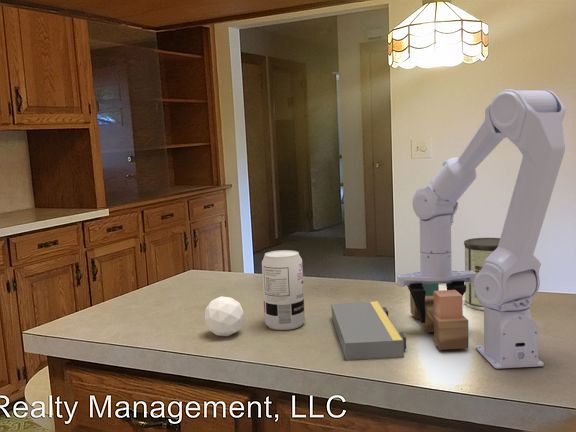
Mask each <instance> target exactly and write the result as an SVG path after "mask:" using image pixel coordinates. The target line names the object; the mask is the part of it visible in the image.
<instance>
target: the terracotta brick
mask: <svg viewBox="0 0 576 432" xmlns="http://www.w3.org/2000/svg"><path fill="white" fill-rule="evenodd" d="M433 293H434V313H435V314H436V315H437V316H438V317H439V318H440V319H450V318H463V316H464V315H463V314H464V313H463V312H464V311H463V307H464V306H463V304H464V303H463V301H464V300H463V296H464V295H463V296H462V295H461V294H460V293H459V292H457V291H456V290H447V289H446V290H445V289H444V290H439V291H433Z"/></svg>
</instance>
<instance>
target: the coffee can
mask: <svg viewBox="0 0 576 432" xmlns="http://www.w3.org/2000/svg"><path fill="white" fill-rule="evenodd" d="M500 238H501V237H475V238H468V239H465V240H464V242H463V245H464V271H473V272H475V273H476V275H477V273H478V272H479V271H480V270H481V269H482V267H483V265H484V261H485V259H486V258H487V257H488V256H489V255H490V254H491V253H492V252H493V251H494V250H495V249H496V248H497V247H498V245H499V241H500ZM464 284H465V285H466V292H465V293H464V296H465V297H464V298H465V299H464V305H465V306H467V307H468V308H471V309H475V310H479V311H484V306H482V305H481V302H480V300H479V299H478V298H477V296H476V293H475V290H474V283H469V282H464Z"/></svg>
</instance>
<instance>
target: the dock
mask: <svg viewBox="0 0 576 432" xmlns="http://www.w3.org/2000/svg"><path fill="white" fill-rule="evenodd" d="M330 308H331V320H332V323H333V326H334V329H335V332H336V334H337V337H338V341H339V343H340V347H341V349H342V352H343V356H344V358H345V360H346V361H354V360H373V359H374V360H375V359H391V358H395V359H396V358H405V354H404V353H405V350H407V337H406V335H405V334H404V332H400V331H398V329H397V328H396V326H395V325H394V323H393V322H392V320H391V319H390V317H389V310H388V309H387V307H386V306H384V307H383V306H382V305H381V303H380V302H379V301H378V300H375V301H367V302H351V303H350V302H349V303H331V307H330Z"/></svg>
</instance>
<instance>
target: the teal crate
mask: <svg viewBox="0 0 576 432" xmlns="http://www.w3.org/2000/svg"><path fill="white" fill-rule="evenodd" d="M413 273H415V271H414V272H413ZM422 286H423V287H424V290H425V291H426V294H425V296H434V293H433V291H440V289H439V284H425V285H422Z"/></svg>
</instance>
